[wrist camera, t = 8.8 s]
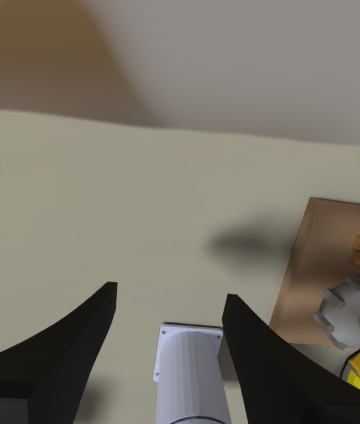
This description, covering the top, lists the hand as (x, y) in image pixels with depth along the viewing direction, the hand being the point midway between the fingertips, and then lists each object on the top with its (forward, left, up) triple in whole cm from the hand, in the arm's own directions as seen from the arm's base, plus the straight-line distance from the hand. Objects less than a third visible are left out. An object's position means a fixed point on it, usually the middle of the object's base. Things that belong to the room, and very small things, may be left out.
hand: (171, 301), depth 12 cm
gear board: (-2, -21, -9) cm, 23 cm away
